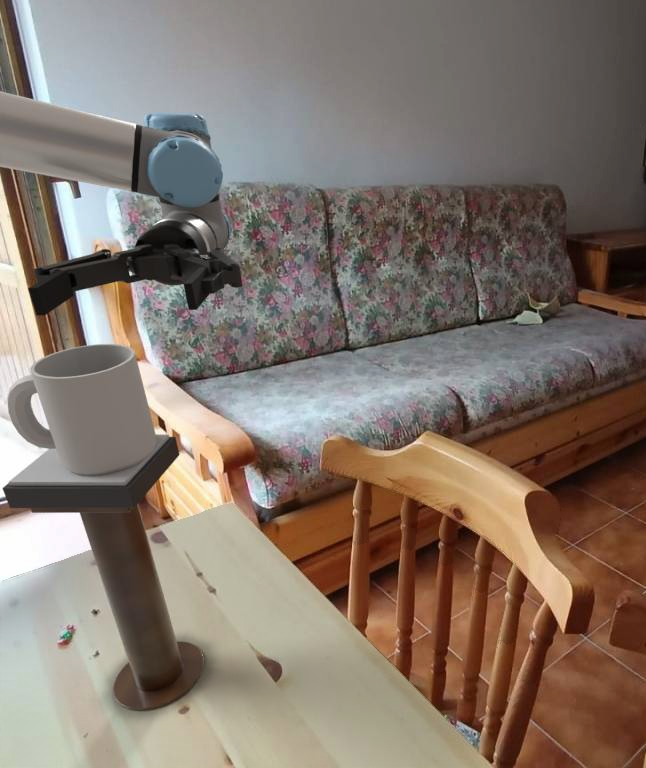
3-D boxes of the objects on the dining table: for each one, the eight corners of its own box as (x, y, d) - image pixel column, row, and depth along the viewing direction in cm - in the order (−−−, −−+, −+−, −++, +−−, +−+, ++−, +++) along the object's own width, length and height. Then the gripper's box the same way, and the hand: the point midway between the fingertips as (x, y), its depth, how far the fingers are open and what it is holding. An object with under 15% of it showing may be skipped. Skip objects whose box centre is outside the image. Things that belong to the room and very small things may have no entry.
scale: (6, 508, 51) (-4, 483, 50) (68, 454, 59) (61, 432, 58) (134, 508, 52) (127, 483, 51) (179, 454, 59) (174, 432, 58)
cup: (146, 471, 52) (120, 374, 49) (8, 486, 50) (-31, 385, 46) (166, 430, 59) (145, 341, 55) (44, 441, 56) (13, 349, 53)
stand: (98, 716, 62) (19, 508, 51) (141, 648, 70) (80, 454, 59) (184, 715, 62) (124, 508, 52) (218, 647, 70) (171, 454, 59)
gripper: (283, 275, 84) (256, 329, 65) (76, 281, 79) (-18, 341, 60) (275, 218, 81) (244, 258, 62) (59, 220, 76) (-46, 264, 57)
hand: (114, 299), depth 61 cm, fingers open, 13 cm apart
